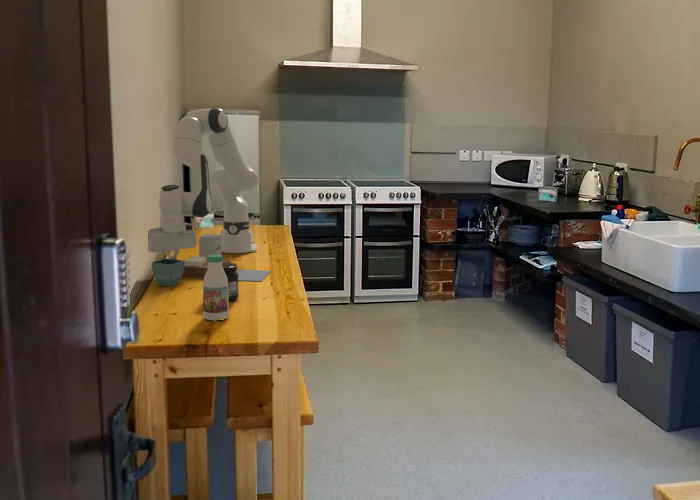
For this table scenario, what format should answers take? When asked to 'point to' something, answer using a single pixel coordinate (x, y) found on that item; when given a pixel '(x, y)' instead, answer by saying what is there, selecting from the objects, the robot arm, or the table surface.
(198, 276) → the board
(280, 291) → the table surface
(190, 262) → the beige rectangular block
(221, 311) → the milk bottle
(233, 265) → the supplement container
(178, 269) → the flower pot
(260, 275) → the mat
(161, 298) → the table surface
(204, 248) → the supplement box
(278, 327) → the table surface
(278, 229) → the table surface
